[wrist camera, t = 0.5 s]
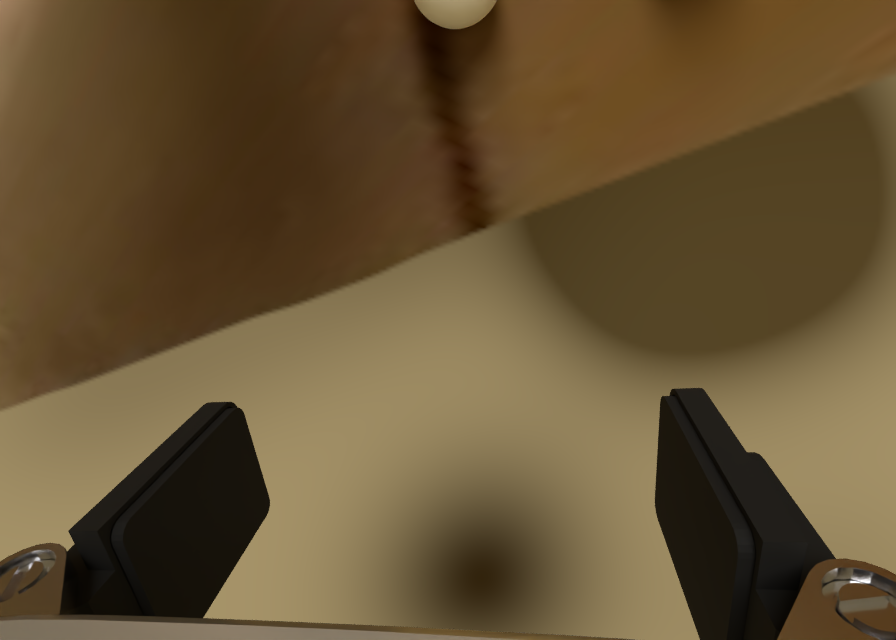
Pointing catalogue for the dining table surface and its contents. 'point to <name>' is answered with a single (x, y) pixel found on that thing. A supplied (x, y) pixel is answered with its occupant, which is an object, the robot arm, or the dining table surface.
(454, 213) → the dining table surface
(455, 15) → the cue ball
